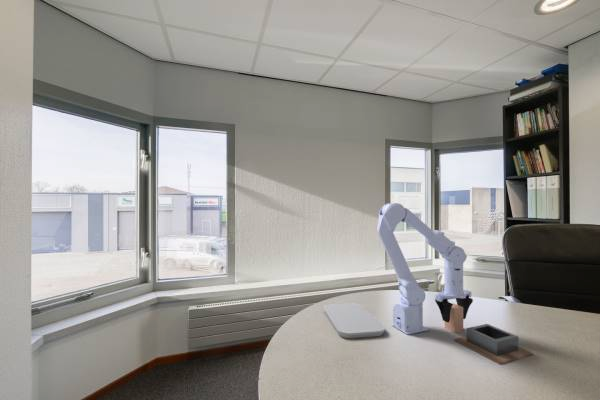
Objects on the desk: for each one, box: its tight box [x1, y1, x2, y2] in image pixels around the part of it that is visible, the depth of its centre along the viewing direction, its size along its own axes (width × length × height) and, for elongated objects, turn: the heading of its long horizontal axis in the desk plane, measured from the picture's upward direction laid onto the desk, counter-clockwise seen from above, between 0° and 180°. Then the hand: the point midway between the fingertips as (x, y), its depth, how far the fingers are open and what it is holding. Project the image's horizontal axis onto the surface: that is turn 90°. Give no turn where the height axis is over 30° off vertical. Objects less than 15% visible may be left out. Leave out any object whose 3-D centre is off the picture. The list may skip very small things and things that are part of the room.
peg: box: [444, 302, 464, 334], centre depth 95 cm, size 4×4×8 cm
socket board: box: [454, 323, 534, 365], centre depth 83 cm, size 14×14×4 cm
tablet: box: [322, 302, 386, 339], centre depth 101 cm, size 16×26×2 cm, turn 9°
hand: (454, 319), depth 95 cm, fingers open, 7 cm apart
